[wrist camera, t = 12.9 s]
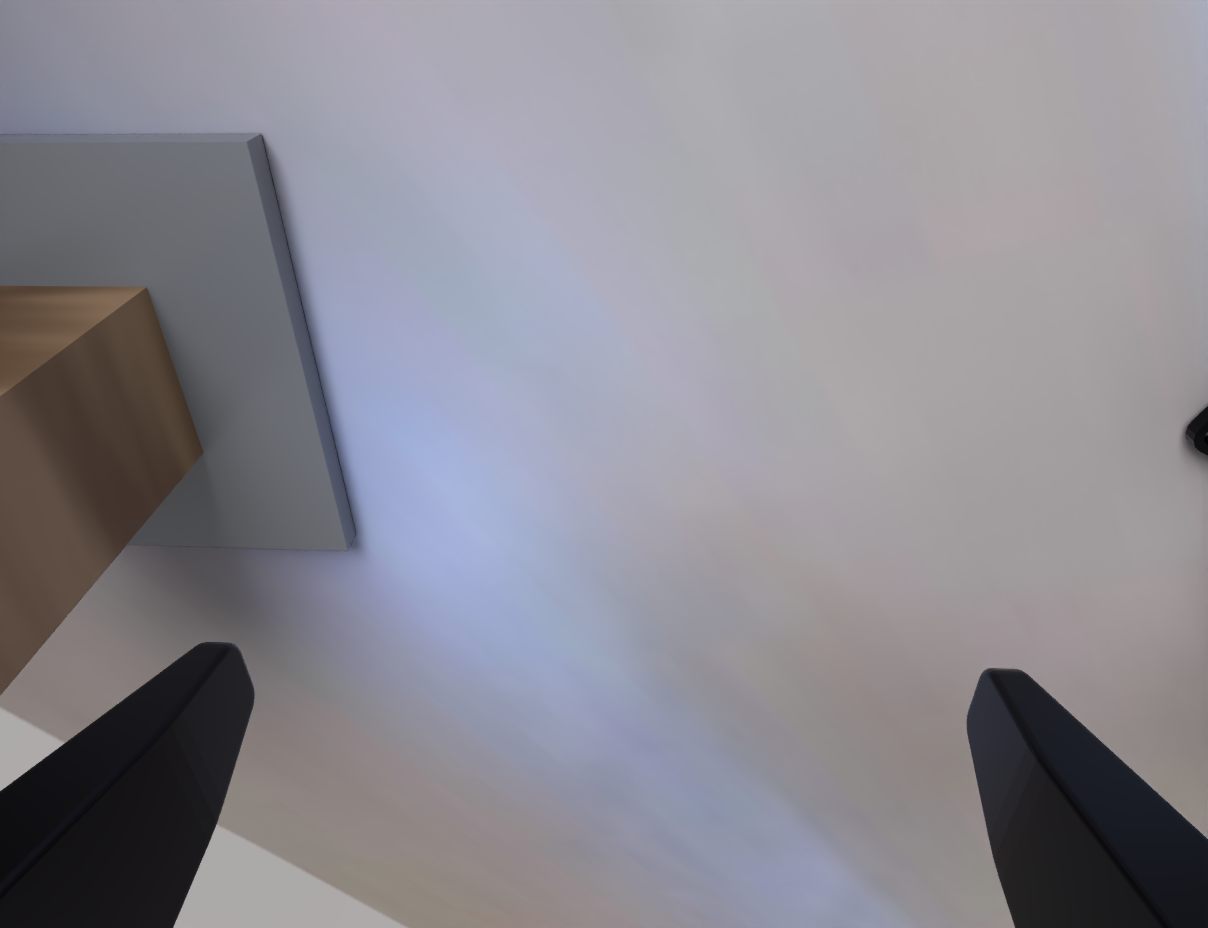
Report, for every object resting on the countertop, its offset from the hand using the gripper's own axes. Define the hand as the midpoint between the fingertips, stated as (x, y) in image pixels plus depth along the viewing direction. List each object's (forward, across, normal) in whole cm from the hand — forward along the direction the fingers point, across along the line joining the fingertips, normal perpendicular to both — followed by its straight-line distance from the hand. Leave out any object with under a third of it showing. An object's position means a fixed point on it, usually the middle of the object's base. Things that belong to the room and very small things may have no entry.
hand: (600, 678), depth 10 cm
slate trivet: (+13, +15, +2) cm, 20 cm away
